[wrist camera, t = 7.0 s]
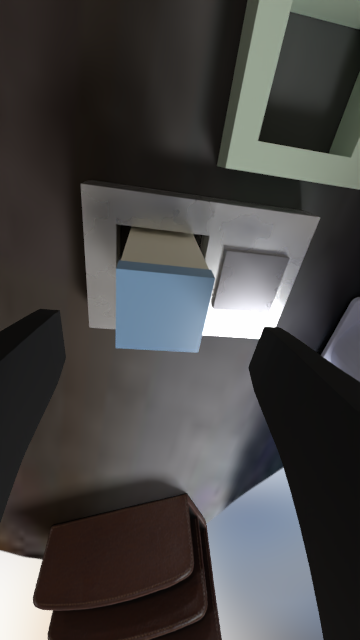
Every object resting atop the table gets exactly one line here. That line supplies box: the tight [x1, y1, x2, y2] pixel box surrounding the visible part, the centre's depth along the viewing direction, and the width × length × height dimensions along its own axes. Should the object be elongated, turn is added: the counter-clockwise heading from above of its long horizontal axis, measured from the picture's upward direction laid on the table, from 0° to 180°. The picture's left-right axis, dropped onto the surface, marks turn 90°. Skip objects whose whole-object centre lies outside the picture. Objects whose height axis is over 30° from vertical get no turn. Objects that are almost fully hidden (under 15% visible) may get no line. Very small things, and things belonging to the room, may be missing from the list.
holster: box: [217, 0, 360, 190], centre depth 11 cm, size 7×7×2 cm
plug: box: [116, 226, 215, 353], centre depth 13 cm, size 4×4×7 cm
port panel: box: [81, 180, 320, 339], centre depth 15 cm, size 12×8×2 cm, turn 82°
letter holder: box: [33, 494, 222, 640], centre depth 31 cm, size 10×20×14 cm, turn 108°
